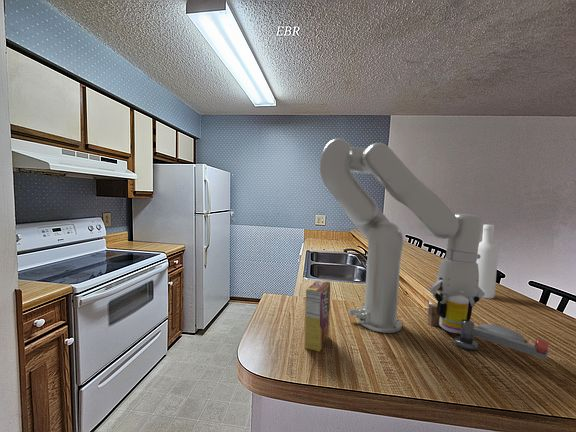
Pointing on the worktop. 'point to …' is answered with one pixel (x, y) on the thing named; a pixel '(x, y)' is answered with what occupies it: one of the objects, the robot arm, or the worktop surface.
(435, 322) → the wooden plank block
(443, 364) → the worktop surface
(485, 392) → the worktop surface
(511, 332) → the coaster
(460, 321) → the supplement bottle
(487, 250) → the bottle
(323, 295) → the candy box
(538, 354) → the lever
